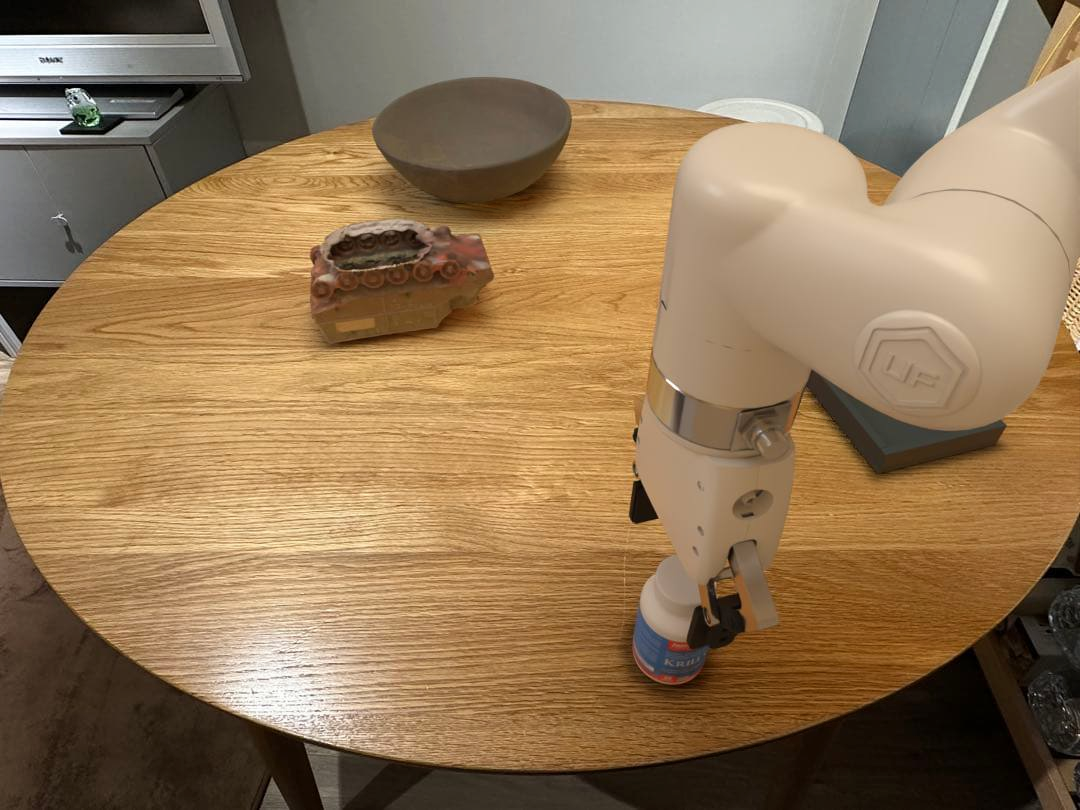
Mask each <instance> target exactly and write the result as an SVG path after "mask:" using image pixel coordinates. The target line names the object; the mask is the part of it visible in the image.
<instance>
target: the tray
mask: <svg viewBox="0 0 1080 810" xmlns="http://www.w3.org/2000/svg"><path fill="white" fill-rule="evenodd" d="M806 387H807V388H808V389H809V390H810V391H811V392H812V394H813V395H814V397H815V398H816V399H817V400H818V401H819V402H820V405H822V407H823V408H824V409H825V410H826V411H827V413H828V414H829V415H830V417H831V418H832V419H833V420H834V422H835V423H836V424H837V425H838V427H839V428H840V429H841V430H842V432H843V433H844V434H845V436H846V437H847V438H848V439H849V441H850V442H851V444H853V446H854V447H855V448H856V449H857V451H858V452H859V453H860V455H861V456H862V457H863V458H864V459H865V460H866V462H867V463H868V464H869V466H870V467H871V468H872V470H874V472H875V473H876V474H877V475H879V474H883V473H887V472H891V471H895V470H899V469H903V468H907V467H911V466H916V465H919V464H924V463H929V462H931V461H935V460H936V461H937V460H940V459H944V458H947V457H952V456H955V455H960V454H963V453H967V452H968V453H969V452H972V451H976V450H981V449H983V448H984V449H985V448H988V447H991V446H992V447H993V446H996V445H997V443H998V441H999V440H1000V438H1001V437H1002V435H1003V433H1004V432H1005V430H1006V428H1007V427H1008V425H1007V424H1006V423H1005V422H1004V421H1003V419H1000V420H998V421H996V422H993V423H991V424H989V425H986V426H982V427H978V428H974V429H969V430H958V431H944V430H933V429H927V428H923V427H919V426H915V425H912V424H909V423H905V422H902V421H900V420H897V419H894V418H892V417H890V416H888V415H886V414H884V413H882V412H880V411H878V410H876V409H874V408H872V407H870V406H868V405H867V404H865V403H863V402H861V401H860V400H858V399H856V398H855V397H853V396H852V395H850V394H849V393H847V392H845V391H844V390H842V389H841V388H839V387H838V386H836V385H835V384H833V383H832V382H830V381H829V380H827V379H826V378H824V377H823V376H821V375H820V374H818V373H817V372H815V371H814V370H812V369H811V372H810V375H809V379H808V382H807V385H806Z"/></svg>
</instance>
